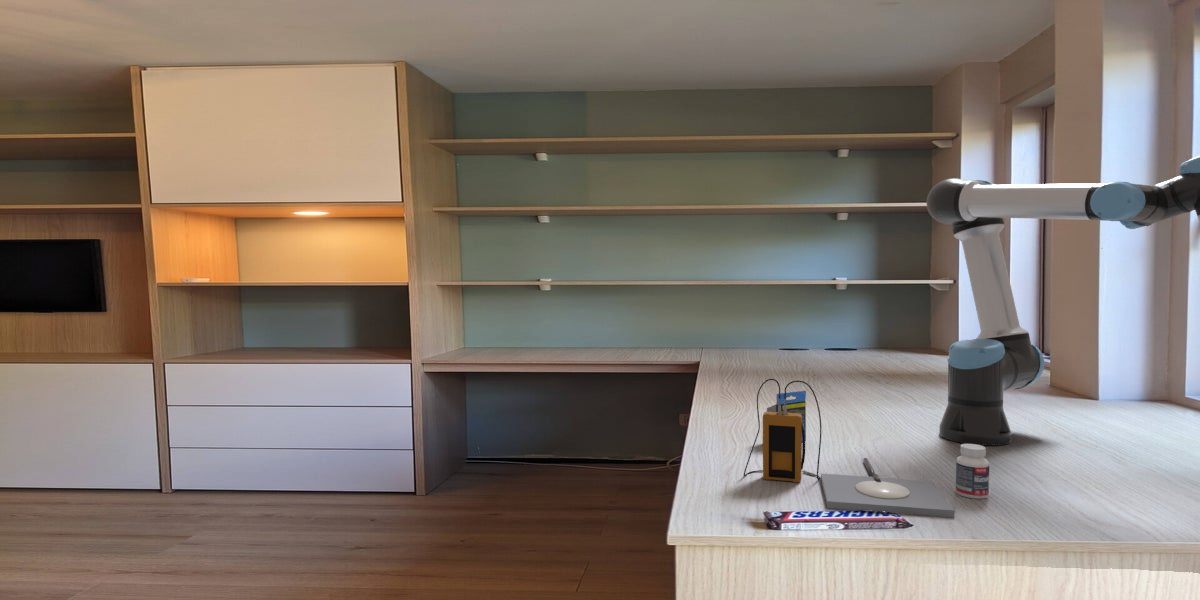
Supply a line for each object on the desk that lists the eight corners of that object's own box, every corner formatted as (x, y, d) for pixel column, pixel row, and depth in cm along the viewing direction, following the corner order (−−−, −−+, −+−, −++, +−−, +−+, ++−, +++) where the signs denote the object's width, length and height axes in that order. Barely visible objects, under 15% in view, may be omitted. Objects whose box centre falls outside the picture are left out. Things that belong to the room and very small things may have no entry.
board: (816, 459, 145) (816, 451, 145) (916, 465, 140) (916, 456, 140) (827, 508, 116) (827, 497, 116) (954, 517, 111) (954, 506, 111)
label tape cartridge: (795, 437, 163) (795, 387, 163) (806, 441, 160) (806, 390, 159) (766, 442, 160) (766, 391, 159) (776, 446, 156) (776, 393, 156)
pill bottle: (976, 501, 118) (977, 451, 118) (949, 492, 123) (950, 445, 122) (995, 496, 121) (996, 447, 120) (967, 488, 125) (968, 441, 125)
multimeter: (821, 470, 137) (821, 373, 136) (821, 485, 128) (821, 381, 127) (748, 464, 142) (748, 370, 141) (743, 478, 132) (743, 378, 131)
